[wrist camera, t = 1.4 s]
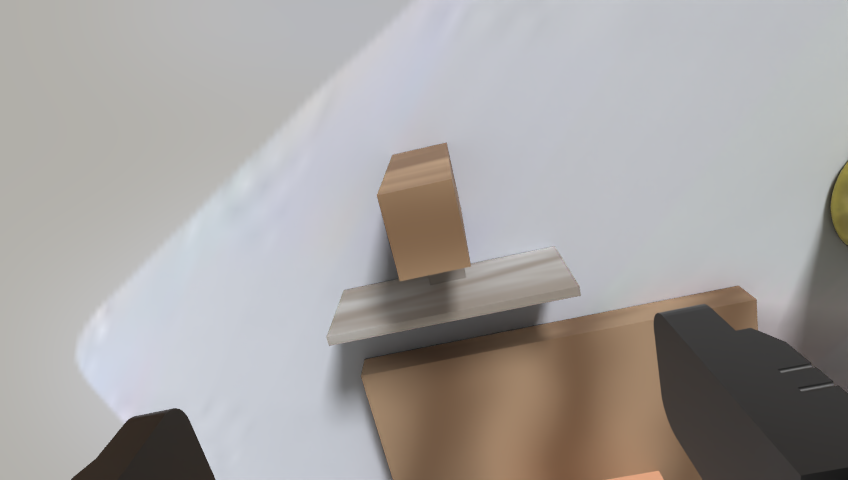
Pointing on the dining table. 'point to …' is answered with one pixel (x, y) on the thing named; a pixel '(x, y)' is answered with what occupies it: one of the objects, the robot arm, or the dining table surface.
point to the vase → (841, 205)
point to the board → (538, 399)
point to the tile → (642, 476)
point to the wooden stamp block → (440, 260)
